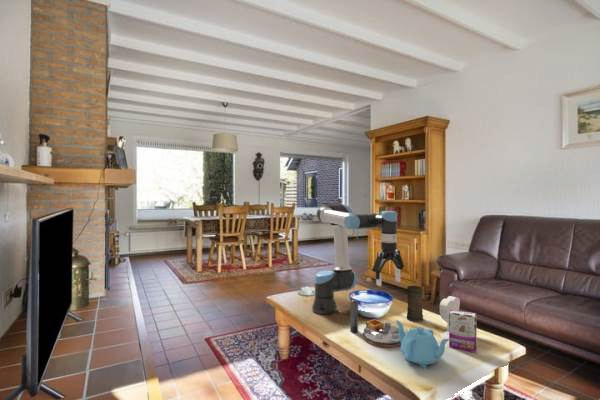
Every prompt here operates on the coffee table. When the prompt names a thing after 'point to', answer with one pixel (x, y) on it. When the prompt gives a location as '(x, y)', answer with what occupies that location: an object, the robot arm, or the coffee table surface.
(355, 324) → the steel pin
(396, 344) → the nut base
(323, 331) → the coffee table surface
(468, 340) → the candy bar box
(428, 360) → the teapot
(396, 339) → the lugged metal disc
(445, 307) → the heart sculpture
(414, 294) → the container
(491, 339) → the coffee table surface
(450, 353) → the coffee table surface
